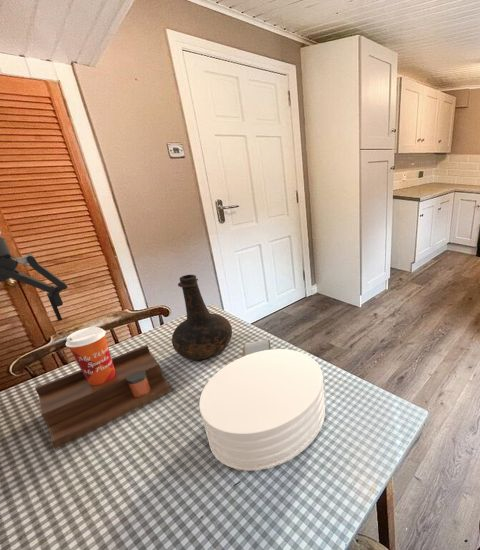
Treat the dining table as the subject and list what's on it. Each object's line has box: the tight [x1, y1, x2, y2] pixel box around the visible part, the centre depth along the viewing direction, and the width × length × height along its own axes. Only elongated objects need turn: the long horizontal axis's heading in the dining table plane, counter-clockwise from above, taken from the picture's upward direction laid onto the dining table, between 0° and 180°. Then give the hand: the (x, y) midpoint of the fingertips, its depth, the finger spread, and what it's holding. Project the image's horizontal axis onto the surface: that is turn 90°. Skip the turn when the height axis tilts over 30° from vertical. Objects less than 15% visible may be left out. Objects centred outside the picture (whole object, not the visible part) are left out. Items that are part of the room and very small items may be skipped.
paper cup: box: [65, 326, 115, 385], centre depth 79 cm, size 8×8×14 cm
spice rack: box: [34, 344, 173, 449], centre depth 81 cm, size 16×24×9 cm, turn 138°
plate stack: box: [198, 348, 326, 472], centre depth 75 cm, size 28×28×12 cm
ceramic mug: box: [242, 338, 272, 357], centre depth 95 cm, size 11×8×8 cm
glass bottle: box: [171, 274, 233, 361], centre depth 99 cm, size 18×18×28 cm
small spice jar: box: [126, 371, 151, 397], centre depth 81 cm, size 4×4×5 cm
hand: (18, 330), depth 69 cm, fingers open, 13 cm apart
